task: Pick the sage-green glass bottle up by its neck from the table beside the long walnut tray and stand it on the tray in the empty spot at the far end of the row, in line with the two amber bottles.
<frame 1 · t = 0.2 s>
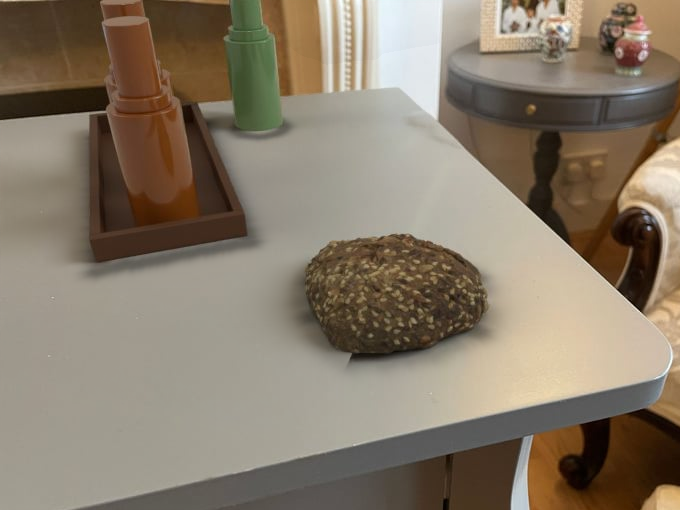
tray: (160, 181, 63), on the cabinet top
amber bottle middle: (160, 183, 61), point 1 cm above the cabinet top, touching tray
amber bottle near: (168, 221, 55), point 1 cm above the cabinet top, touching tray
bread roll: (397, 302, 46), on the cabinet top
green bottle: (259, 127, 75), on the cabinet top
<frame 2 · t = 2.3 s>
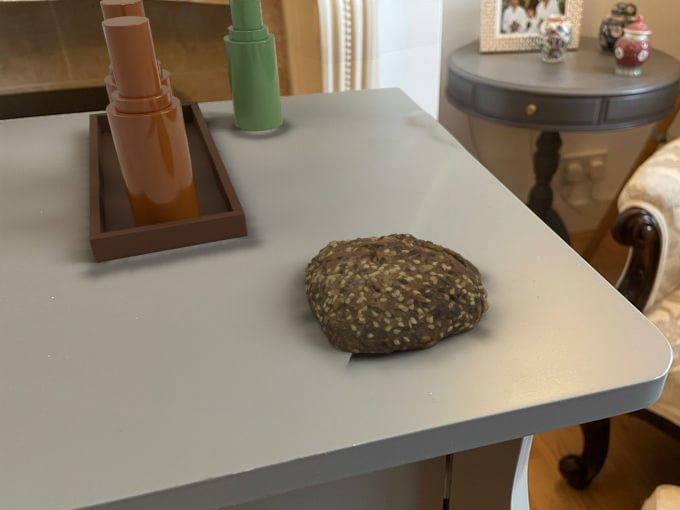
nothing on the cabinet top moved.
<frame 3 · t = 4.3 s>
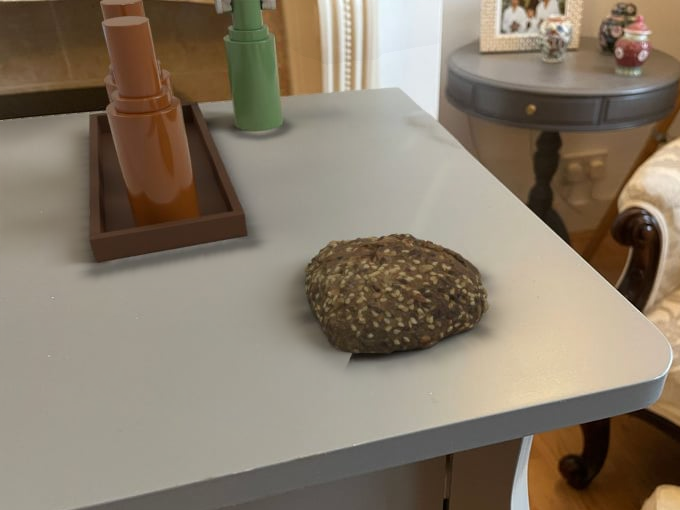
hand: (245, 10, 68), 13 cm above the cabinet top, tool pointing down, fingers closed on green bottle, 3 cm apart
green bottle: (259, 127, 75), on the cabinet top, touching gripper
everything else where it was.
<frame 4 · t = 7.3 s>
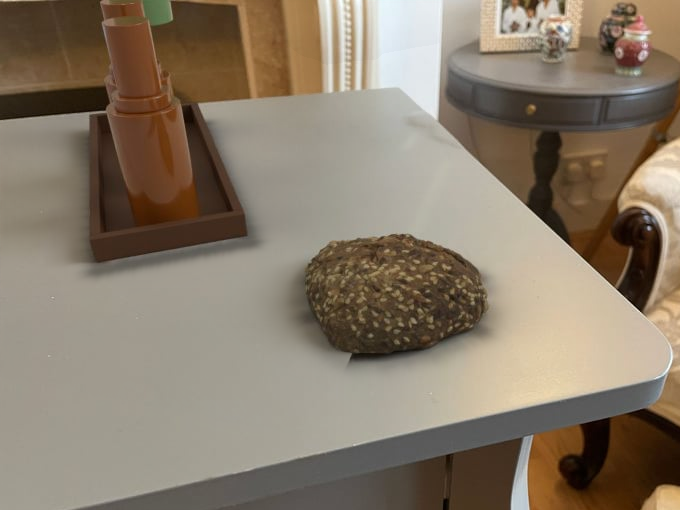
green bottle: (143, 20, 61), point 13 cm above the cabinet top, touching gripper
everything else where it was.
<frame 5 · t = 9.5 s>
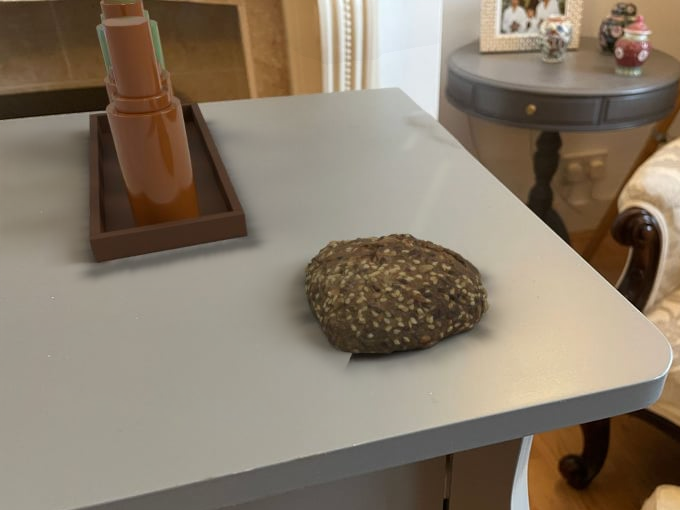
green bottle: (149, 128, 66), point 3 cm above the cabinet top, touching gripper
everything else where it was.
when the fingers open (13 cm above the cabinet top, at t = 10.6 s): green bottle stays where it is, resting on tray.
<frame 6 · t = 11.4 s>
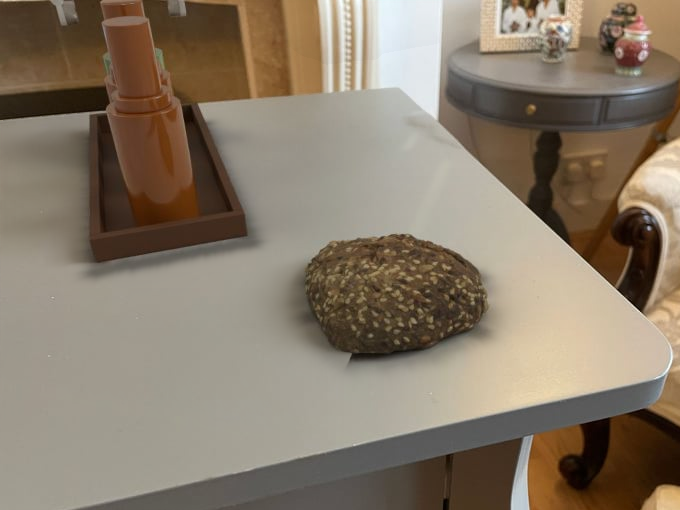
hand: (125, 19, 60), 14 cm above the cabinet top, tool pointing down, fingers open, 8 cm apart
green bottle: (154, 153, 67), point 1 cm above the cabinet top, touching tray
everything else where it was.
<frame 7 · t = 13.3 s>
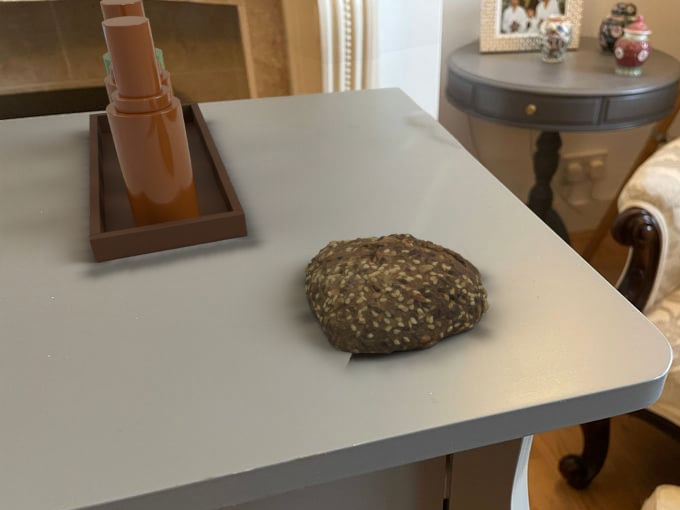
nothing on the cabinet top moved.
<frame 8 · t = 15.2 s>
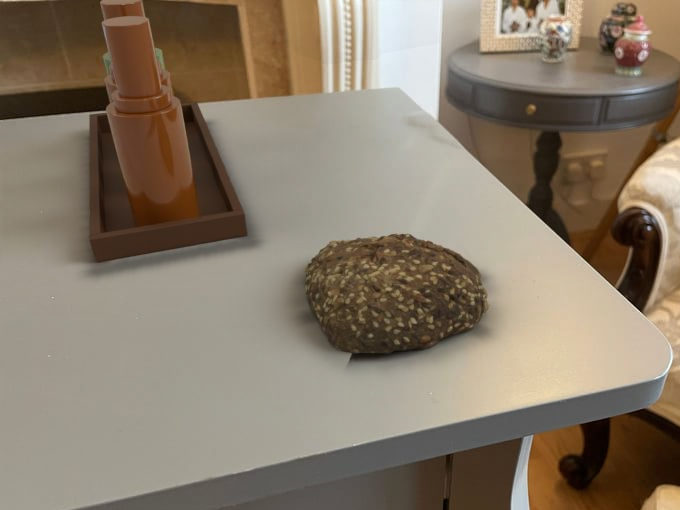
nothing on the cabinet top moved.
at the end: green bottle 0.0 cm from the target spot in the tray, point 0.6 cm above the tray's base; green bottle tilted 0°; amber bottle near moved 0.0 cm from its start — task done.
